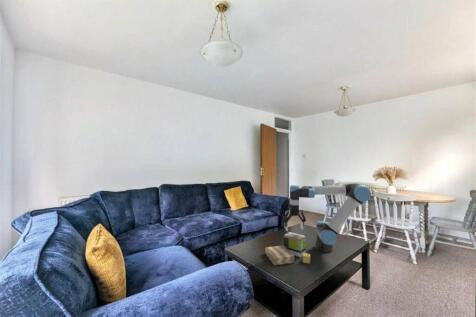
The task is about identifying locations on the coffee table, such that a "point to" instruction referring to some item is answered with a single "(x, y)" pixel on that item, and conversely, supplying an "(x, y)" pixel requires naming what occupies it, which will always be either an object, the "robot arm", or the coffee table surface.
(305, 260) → the mustard cube
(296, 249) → the tea box
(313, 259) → the coffee table surface
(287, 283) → the coffee table surface
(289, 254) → the oak pedestal
